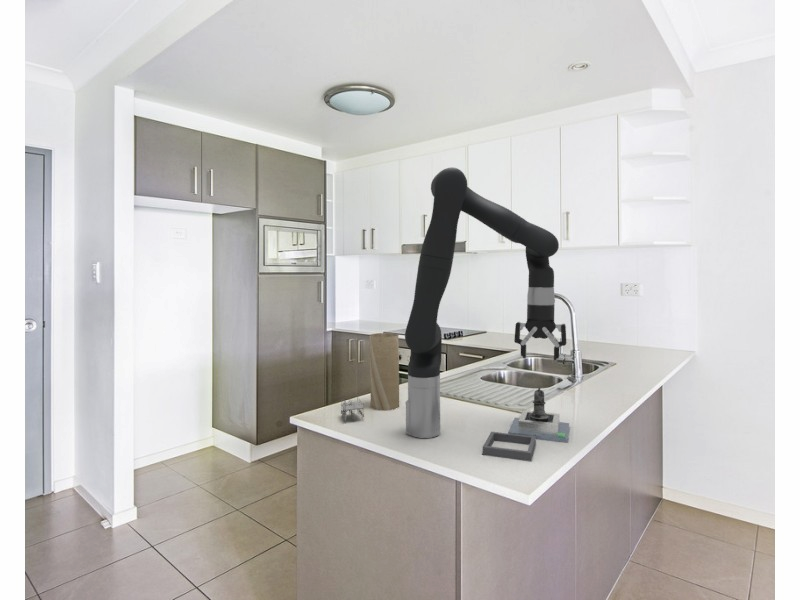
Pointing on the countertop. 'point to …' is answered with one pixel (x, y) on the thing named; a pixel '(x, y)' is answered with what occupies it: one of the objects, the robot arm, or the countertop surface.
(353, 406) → the building frame
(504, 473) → the countertop surface
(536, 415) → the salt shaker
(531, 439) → the dark grey square frame
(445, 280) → the robot arm
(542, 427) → the port panel
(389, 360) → the tube
